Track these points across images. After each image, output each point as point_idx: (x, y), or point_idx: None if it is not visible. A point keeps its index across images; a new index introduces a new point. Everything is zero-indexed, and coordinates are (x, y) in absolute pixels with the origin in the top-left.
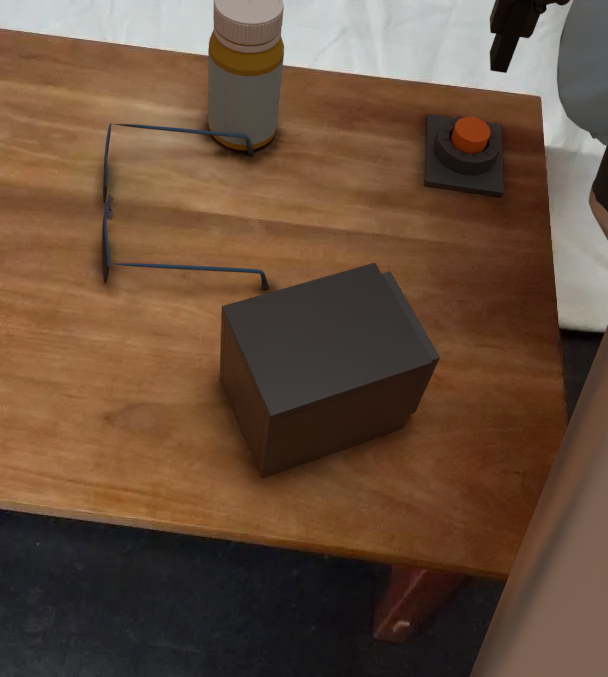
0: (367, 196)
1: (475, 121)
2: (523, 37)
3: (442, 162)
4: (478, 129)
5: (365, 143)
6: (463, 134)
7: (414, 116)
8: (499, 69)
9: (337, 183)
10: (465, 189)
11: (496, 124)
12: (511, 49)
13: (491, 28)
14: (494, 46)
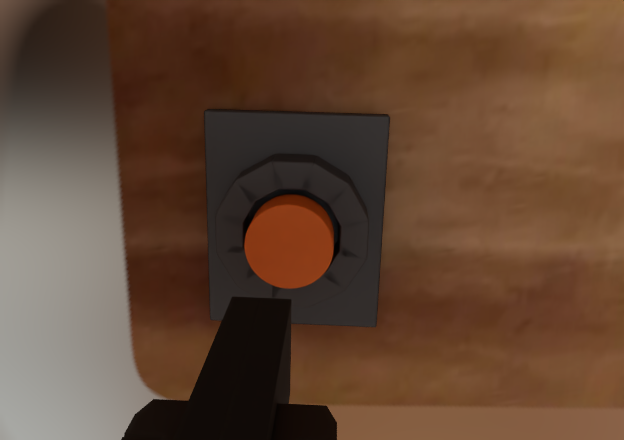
0: (526, 58)
1: (281, 273)
2: (176, 400)
3: (349, 176)
4: (274, 248)
5: (519, 225)
6: (313, 224)
7: (401, 322)
8: (259, 302)
9: (596, 88)
10: (293, 112)
11: (220, 318)
12: (225, 349)
13: (329, 419)
14: (285, 387)
